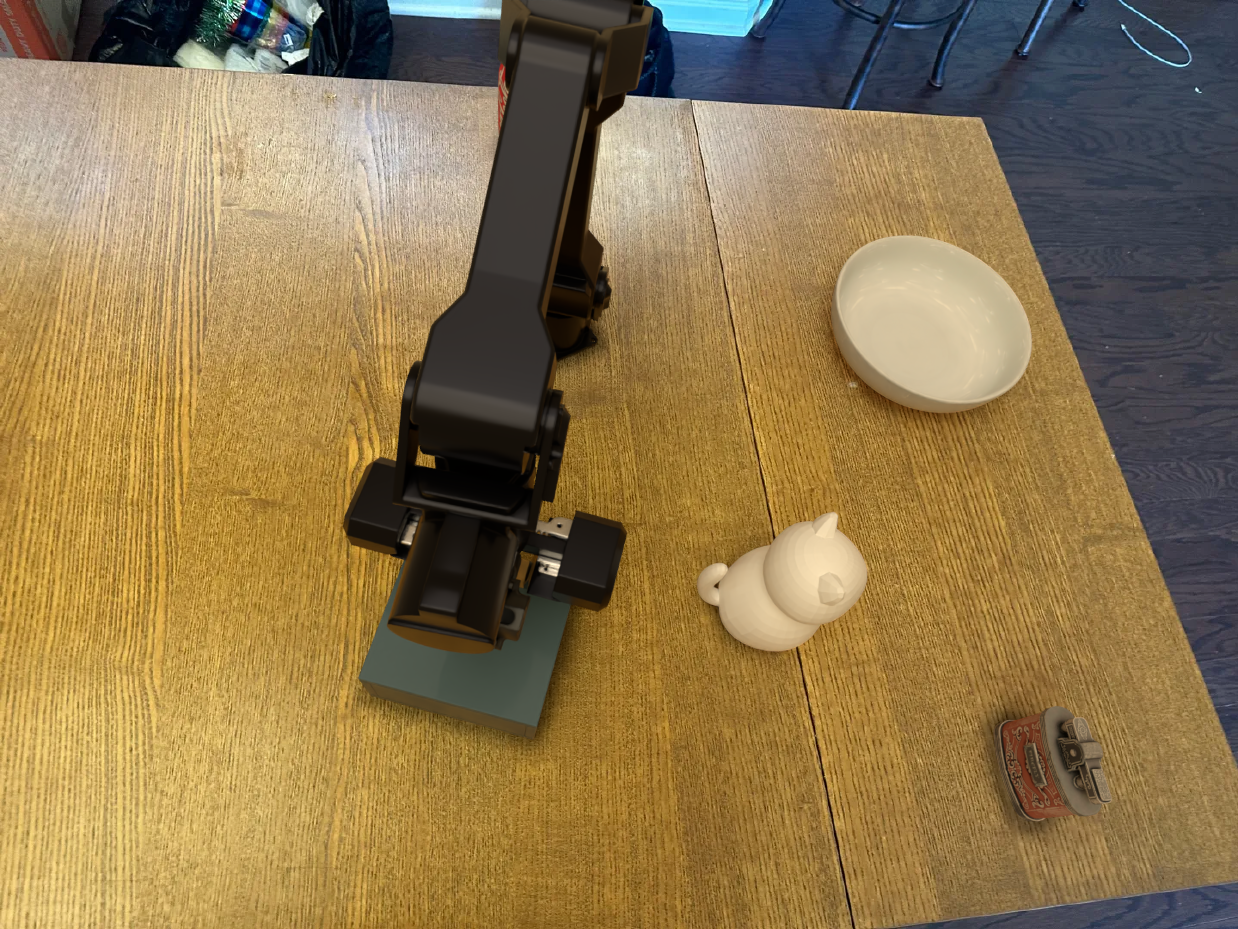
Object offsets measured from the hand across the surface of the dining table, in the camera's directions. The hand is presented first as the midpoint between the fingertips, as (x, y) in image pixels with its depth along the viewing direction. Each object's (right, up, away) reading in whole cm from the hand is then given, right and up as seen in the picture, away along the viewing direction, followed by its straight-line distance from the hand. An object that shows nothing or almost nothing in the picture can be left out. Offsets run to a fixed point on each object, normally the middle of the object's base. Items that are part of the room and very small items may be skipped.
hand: (489, 572), depth 64 cm
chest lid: (-1, -4, -1) cm, 4 cm away
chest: (-2, -7, +4) cm, 8 cm away
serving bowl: (+41, +21, +25) cm, 52 cm away
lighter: (+44, -18, +6) cm, 48 cm away
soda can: (0, +45, +31) cm, 55 cm away
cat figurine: (+22, -5, +9) cm, 24 cm away
